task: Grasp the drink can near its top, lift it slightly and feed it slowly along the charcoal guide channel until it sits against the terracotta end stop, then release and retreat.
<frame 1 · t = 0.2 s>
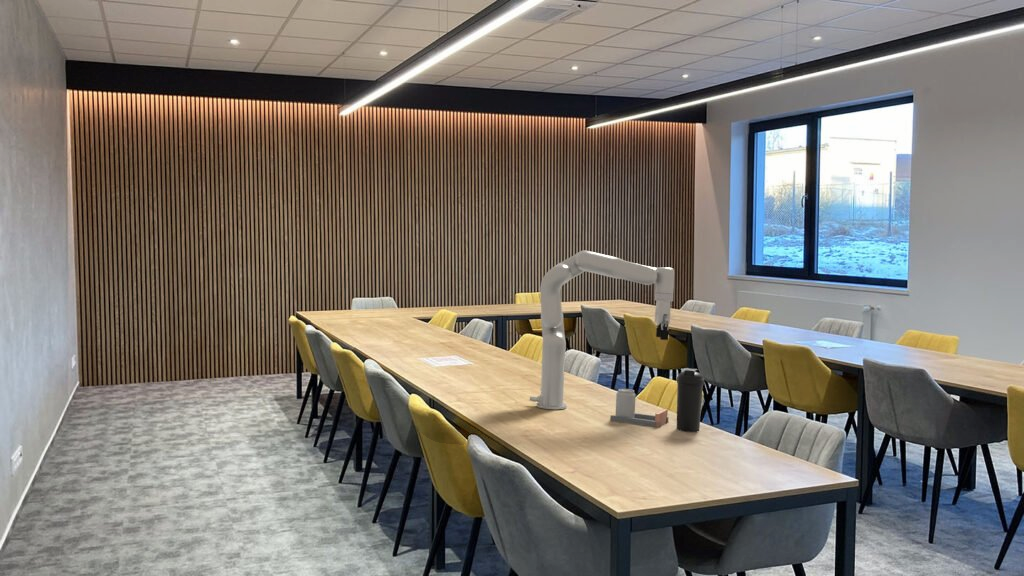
hand: (662, 338, 355), 31 cm above the table, fingers open, 9 cm apart
water bottle: (687, 430, 324), on the table
can: (624, 420, 338), on the table
channel: (639, 421, 336), on the table
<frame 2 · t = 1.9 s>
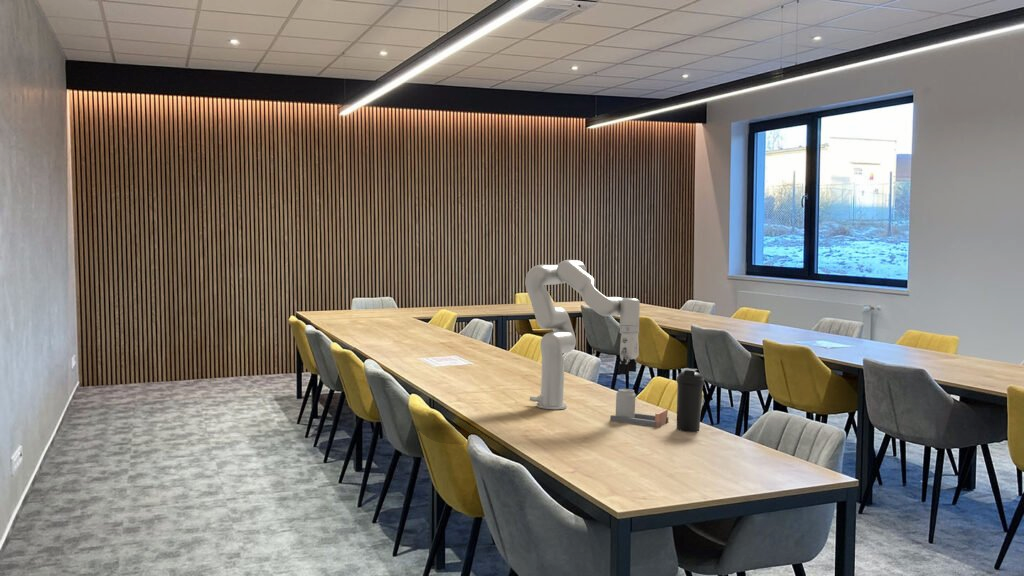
hand: (628, 373, 337), 19 cm above the table, fingers open, 9 cm apart
nothing on the table moved.
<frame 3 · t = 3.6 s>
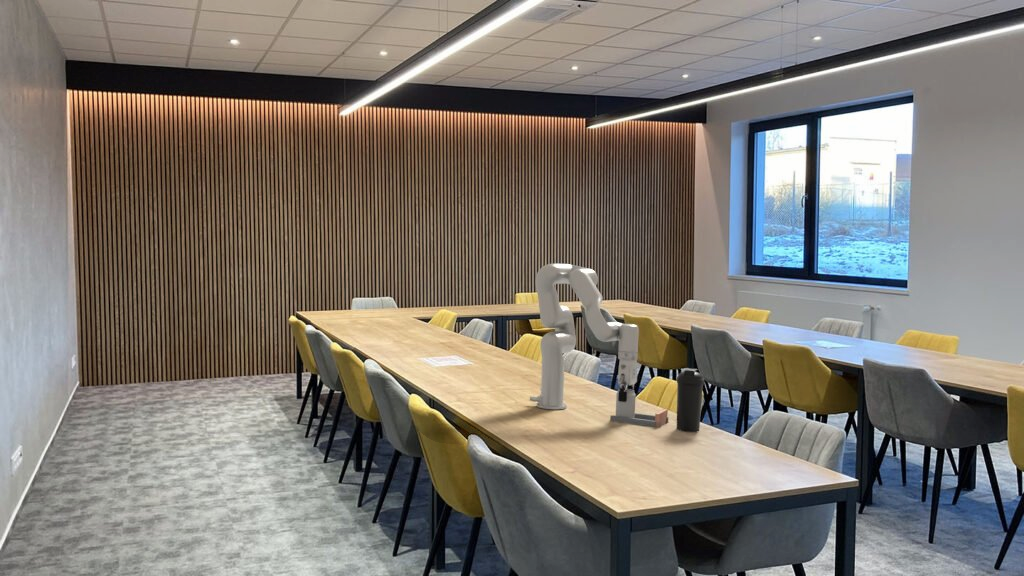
hand: (625, 399, 338), 8 cm above the table, fingers closed on can, 7 cm apart
can: (624, 420, 338), on the table, touching gripper
everything else where it was.
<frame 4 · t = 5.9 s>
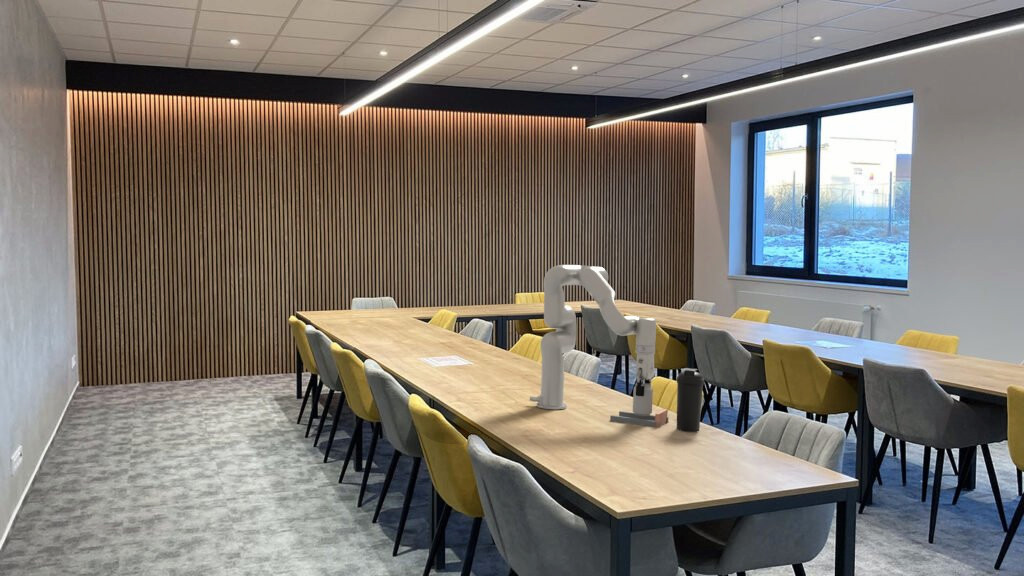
hand: (643, 394, 335), 11 cm above the table, fingers closed on can, 7 cm apart
can: (642, 414, 335), point 3 cm above the table, touching gripper
everything else where it was.
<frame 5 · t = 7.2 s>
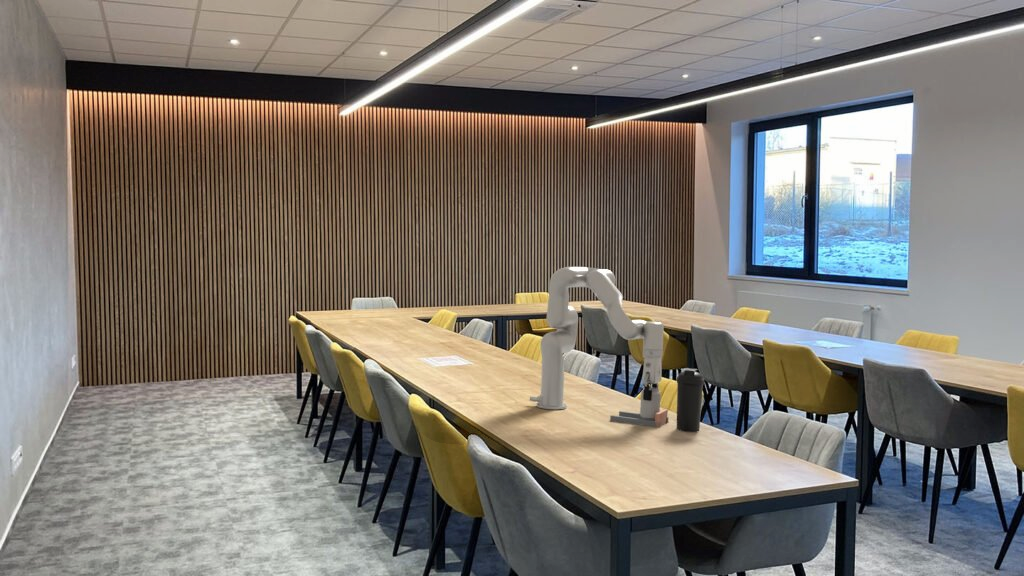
hand: (650, 398, 333), 10 cm above the table, fingers closed on can, 7 cm apart
can: (649, 419, 334), point 2 cm above the table, touching gripper
everything else where it was.
when the fingers open (8 cm above the table, at t = 8.3 s): can stays where it is, on the table.
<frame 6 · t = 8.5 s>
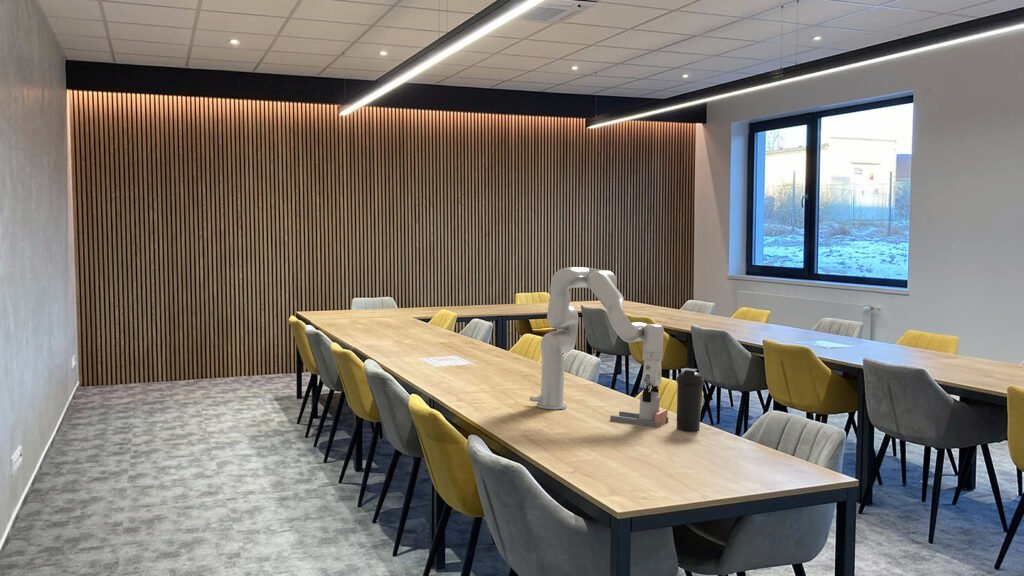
hand: (650, 400, 333), 9 cm above the table, fingers open, 9 cm apart
can: (648, 423, 334), on the table
everything else where it was.
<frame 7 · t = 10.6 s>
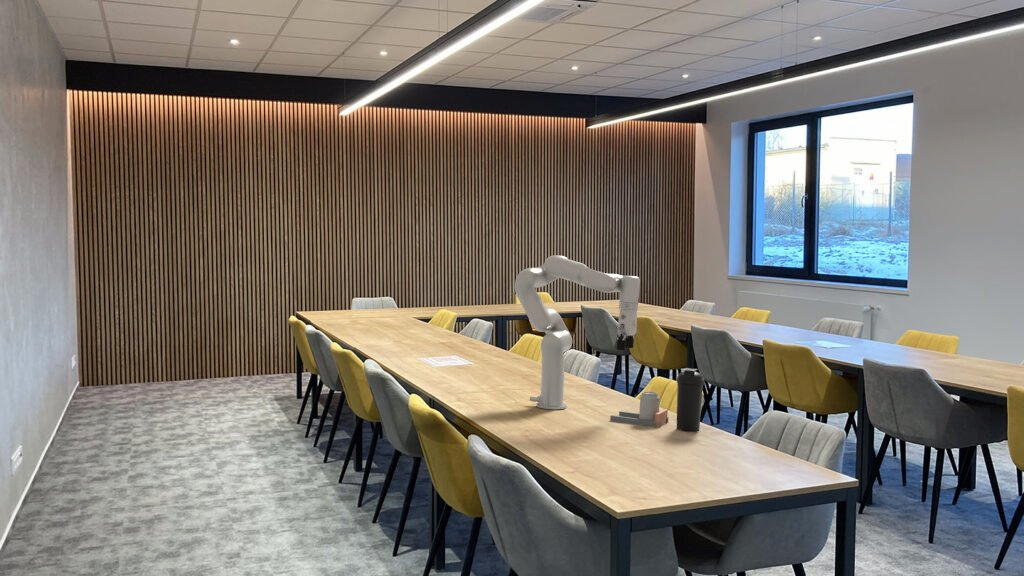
hand: (624, 348, 345), 27 cm above the table, fingers open, 9 cm apart
nothing on the table moved.
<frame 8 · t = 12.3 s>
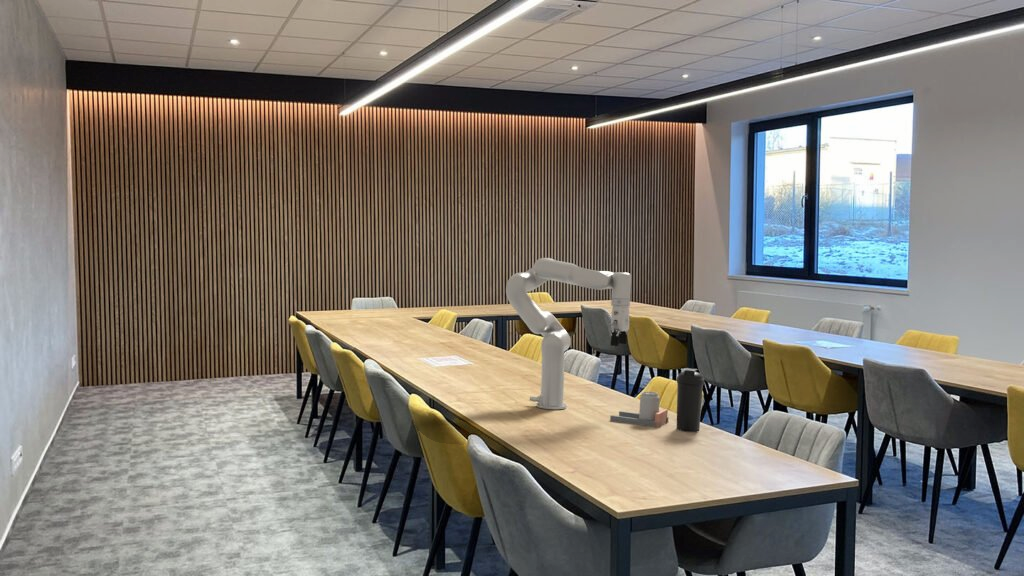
hand: (618, 344, 348), 28 cm above the table, fingers open, 9 cm apart
nothing on the table moved.
at the end: can 0.2 cm from the target spot, on the table; can tilted 0°; the gripper is holding nothing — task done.
